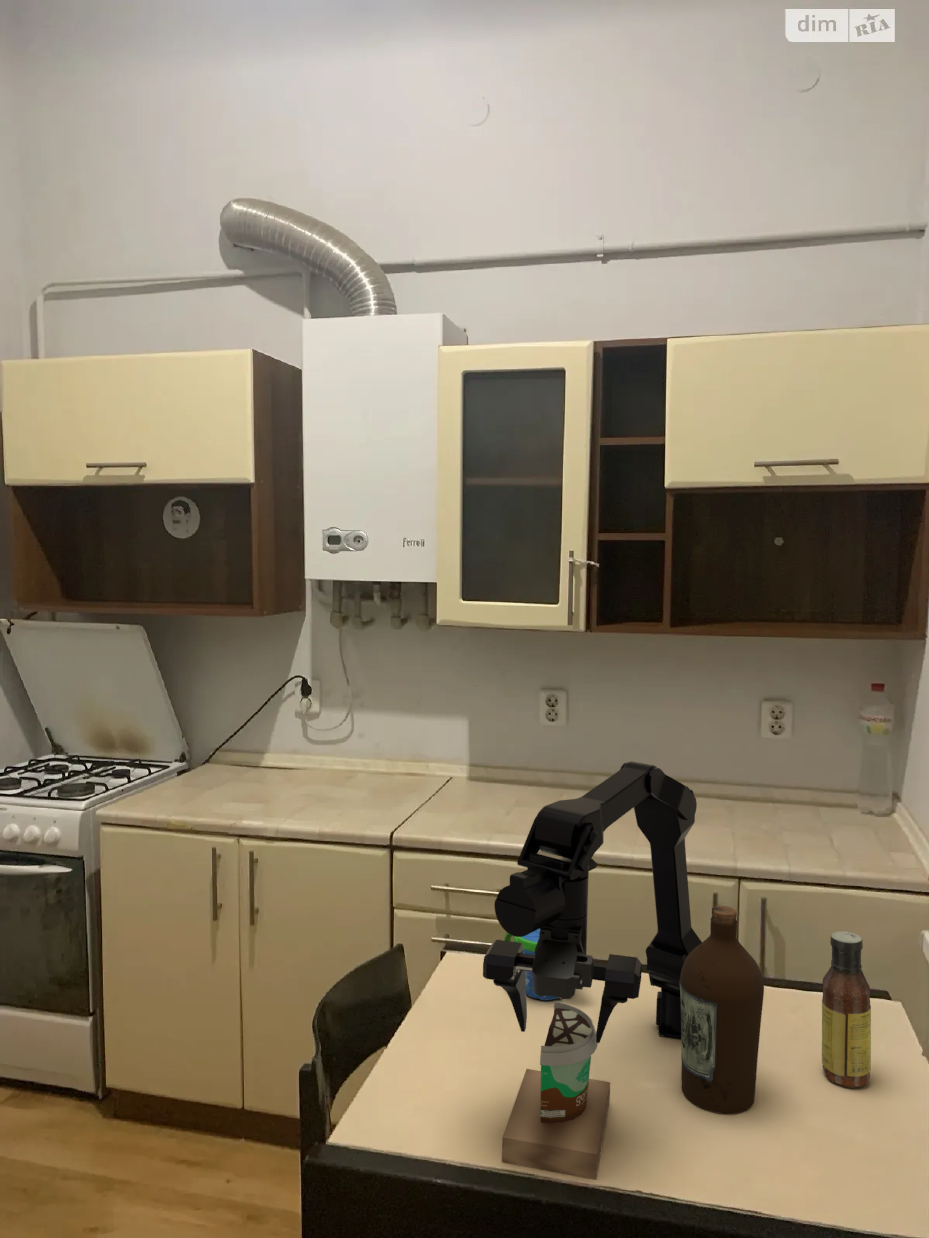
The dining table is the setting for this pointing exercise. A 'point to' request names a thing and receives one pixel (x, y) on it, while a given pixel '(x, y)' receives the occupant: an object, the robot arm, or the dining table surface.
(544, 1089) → the food container
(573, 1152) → the base board
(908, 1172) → the dining table surface
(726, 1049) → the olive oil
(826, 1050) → the sauce bottle
